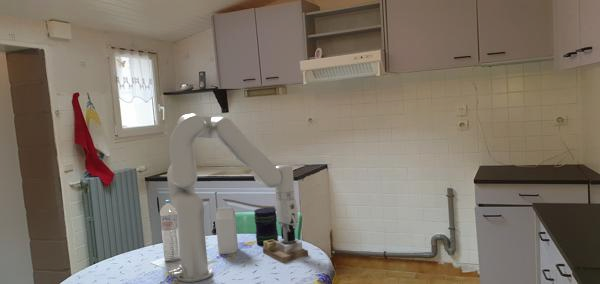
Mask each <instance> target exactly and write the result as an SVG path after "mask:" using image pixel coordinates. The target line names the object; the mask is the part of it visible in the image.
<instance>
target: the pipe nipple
mask: <svg viewBox="0 0 600 284" xmlns="http://www.w3.org/2000/svg"><path fill="white" fill-rule="evenodd" d="M290 223H292V222H290ZM291 226H292V225H290V227H291ZM282 227H283V238H284V239H283V240H284V244H285V245H288V244H292V243H294V241H290V242H289V241H288V238H287V232H288V228H287V224H285V223H282Z"/></svg>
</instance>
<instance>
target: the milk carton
mask: <svg viewBox="0 0 600 284" xmlns="http://www.w3.org/2000/svg"><path fill="white" fill-rule="evenodd" d="M236 220H237V219H236V213H235V210H234V207H233V206H231V207H230V206H228V207H218V208H217V207H216V216H215V225H216V236H217V238H216V239H217V249H218V255H222V254H225V255H226V254H236V253H237V250H238V248H239V245H238V241H239V240H238V233H237V221H236Z"/></svg>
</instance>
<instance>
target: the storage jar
mask: <svg viewBox="0 0 600 284" xmlns="http://www.w3.org/2000/svg"><path fill="white" fill-rule="evenodd" d="M253 213H254V224H255V228H256V229H255V230H256V231H255V239H256V245H257V246H259V247H264V243H263V241H267V240H271V239H274V240H276V241H279V240H278V239H279V233H278V229H277V228H278V227H277V221H278V219H277V208H275V207H260V208H256V209H255V210H254V211H253Z"/></svg>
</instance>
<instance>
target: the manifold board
mask: <svg viewBox="0 0 600 284" xmlns="http://www.w3.org/2000/svg"><path fill="white" fill-rule="evenodd" d="M263 243H264V246H263V248H262V253H263V254H264V255H267V256H269V257H271V258H272V259H274V260H276V261H277V262H280V263H281V264H283V263H287V262H290V261H293V260H297V259H301V258H305V257H307V256H309V251H308V249H305V248H303V241H301V240H299V239H296V238H295V240H294V243H292V244H288V245H285V244H284V239H282V240H278V241H276V240H274V239H271V240H267V241H263Z"/></svg>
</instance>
